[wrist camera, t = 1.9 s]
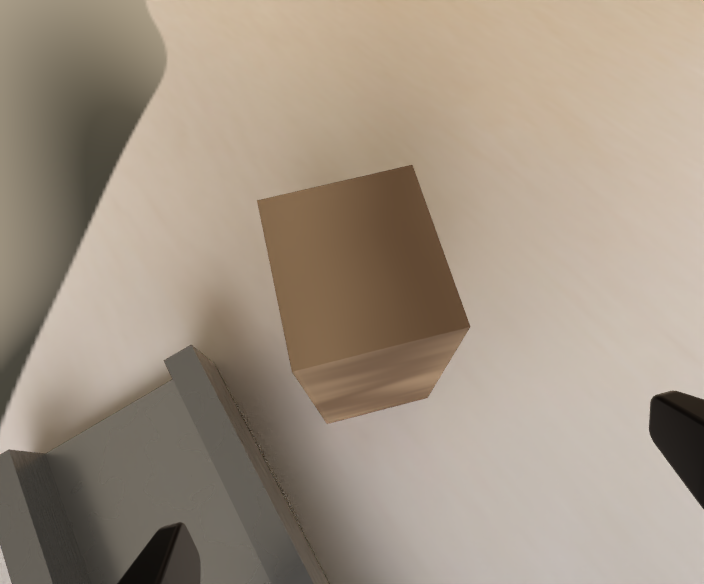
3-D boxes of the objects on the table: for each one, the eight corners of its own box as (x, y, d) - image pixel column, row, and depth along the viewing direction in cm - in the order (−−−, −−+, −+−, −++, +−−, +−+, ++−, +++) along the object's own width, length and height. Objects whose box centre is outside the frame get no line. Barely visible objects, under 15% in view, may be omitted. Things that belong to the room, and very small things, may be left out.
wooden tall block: (327, 423, 21) (292, 371, 12) (303, 317, 23) (257, 200, 14) (427, 397, 21) (470, 326, 12) (396, 294, 23) (412, 164, 14)
